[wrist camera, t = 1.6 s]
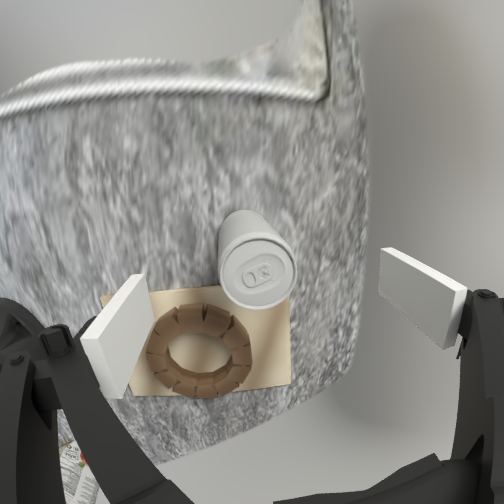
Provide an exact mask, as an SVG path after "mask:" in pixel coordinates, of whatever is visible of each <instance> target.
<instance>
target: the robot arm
mask: <svg viewBox="0 0 504 504" xmlns="http://www.w3.org/2000/svg"><path fill="white" fill-rule="evenodd" d="M378 293H379V294H380V295H381V296H383V298H385V299H386V300H387V301H388V302H389V303H391V304H392V305H393V306H394V307H395V308H396V309H398V310H399V311H400V312H401V313H402V314H403V315H404V316H406V317H407V318H408V319H409V320H410V321H411V322H413V323H414V324H415V325H416V326H417V327H418V328H419V329H420V330H421V331H422V332H424V333H425V334H426V335H427V336H428V337H429V338H430V339H431V340H432V341H433V342H435V343H436V344H437V345H438V346H439V347H440V348H441V349H442V350H443V349H446V348H449V347H451V346H454V345H455V342H456V338H457V334H458V333H459V334H460V335H461V336H462V337H463V338H462V342H461V345H460V348H459V352H458V355H457V358H456V359H459V356H461V363H460V389H459V402H458V403H459V404H458V413H457V422H456V429H455V436H454V443H453V449H452V454H451V458H450V460H443V461H439V460H438V457H437V456H436V455H435V453H433V454H431V455H429V456H427V457H425V458H422V459H420V460H418V461H416V462H413V463H411V464H409V465H407V466H404V467H402V468H400V469H399V470H397V471H396V472H395V473H393V474H392V475H390V476H388V477H387V478H385V479H384V480H382V481H381V482H379V483H378V484H376V485H374V486H373V487H371V488H369V489H367V490H364V491H356V492H343V493H325V494H315V495H310V496H305V497H299V498H294V499H289V500H282V501H275V502H273V504H504V298H498V296H497V295H496V294H495V293H494V292H492V291H490V290H487V289H479V290H475V291H474V292H472V291H470V290H468V288H466V287H465V286H463V285H461V284H459V283H457V282H455V281H454V280H452V279H450V278H449V277H447V276H445V275H443V274H441V273H440V272H437V271H436V270H434V269H432V268H430V267H428V266H427V265H425V264H423V263H421V262H419V261H417V260H415V259H413V258H411V257H409V256H407V255H406V254H404V253H402V252H399V251H398V250H396V249H394V248H392V247H391V248H382V249H381V254H380V275H379V287H378ZM154 320H155V318H154V314H153V310H152V306H151V301H150V297H149V292H148V287H147V283H146V278H145V274H136V275H131V276H130V277H129V279H128V280H127V281H126V282H125V283H124V284H123V286H122V287H121V288H120V289H119V290H118V292H117V293H116V294H115V295H114V296H113V298H112V299H111V300H110V301H109V302H108V304H107V305H106V306H105V307H104V309H103V310H102V311H101V312H100V313H99V315H98V316H94V317H93V318H91V319H90V320H88V321H87V322H86V323H85V324H84V326H83V327H82V328H81V329H80V331H79V333H77V334H76V336H75V337H74V338H72V336H71V333H70V330H69V327H68V326H67V325H63V324H58V325H53V326H50V327H48V328H44V327H43V326H42V324H41V323H40V322H39V321H38V320H37V319H36V317H35V316H34V315H33V314H32V313H30V312H29V311H28V310H27V309H26V308H24V307H23V306H22V305H20V304H19V303H17V302H15V301H13V300H10V299H7V298H0V504H66V500H65V494H64V488H63V482H62V474H61V466H60V457H59V445H58V426H57V409H63V411H64V414H65V416H66V419H67V421H68V424H69V426H70V428H71V431H72V433H73V435H74V438H75V440H76V442H77V444H78V446H79V448H80V450H81V452H82V454H83V456H84V458H85V460H86V462H87V464H88V466H89V468H90V470H91V472H92V474H93V475H94V477H95V479H96V481H97V482H98V484H99V486H100V488H101V489H102V491H103V493H104V494H105V496H106V497H107V499H108V501H109V502H110V504H194V503H193V502H192V501H191V500H190V499H189V498H188V497H187V496H186V495H185V494H184V493H183V492H182V491H181V490H180V489H179V488H178V487H177V486H176V485H175V484H174V483H173V482H172V481H171V480H167V479H166V478H165V477H164V476H163V475H162V474H161V473H160V471H159V470H158V469H157V468H156V467H155V466H154V464H153V463H152V462H151V461H150V460H149V458H148V457H147V456H146V455H145V453H144V452H143V451H142V450H141V448H140V447H139V446H138V445H137V443H136V442H135V441H134V439H133V438H132V437H131V435H130V434H129V433H128V431H127V430H126V429H125V427H124V426H123V424H122V423H121V421H120V420H119V419H118V417H117V416H116V414H115V413H114V411H113V410H112V408H111V407H110V405H109V404H108V402H107V401H106V399H105V398H114V399H122V398H123V395H124V393H125V390H126V387H127V385H128V382H129V380H130V377H131V375H132V372H133V370H134V367H135V365H136V362H137V360H138V358H139V355H140V353H141V350H142V348H143V346H144V343H145V341H146V339H147V336H148V334H149V332H150V329H151V327H152V325H153V322H154ZM99 387H100V389H101V391H102V393H103V394H102V393H101V391H100V389H99ZM103 395H104V396H103Z"/></svg>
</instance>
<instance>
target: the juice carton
mask: <svg viewBox="0 0 504 504" xmlns="http://www.w3.org/2000/svg"><path fill="white" fill-rule="evenodd" d="M59 457H60V466H61V474H62V482H63V488H64V494H65V500H66V504H95V502H96V498H97V494H98V490H99V487H100V486H99V484H98V482H97V481H96V479H95V477H94V475H93V474H92V472H91V470H90V468H89V466H88V464H87V462H86V460H85V458H84V456H83V454H82V452H81V450H80V448H79V446H78V444H77V442H76V440H75V441H72V442H69V443H67V444H64V445H62V446H60V447H59Z"/></svg>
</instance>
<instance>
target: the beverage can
mask: <svg viewBox="0 0 504 504" xmlns="http://www.w3.org/2000/svg"><path fill="white" fill-rule="evenodd" d="M217 269H218V279H219V282H220V285H221V288H222V289H223V291H224V292H225V294H226V295H227V297H228V298H229V299H230V300H231V301H232V302H234V303H235V304H236V305H238V306H240V307H242V308H245V309H250V310H265V309H268V308H272V307H274V306H276V305H278V304H279V303H281V302H282V301H283V300H284V299H286V298H287V297H288V296H289V294H290V293H291V291H292V289H293V288H294V286H295V282H296V279H297V265H296V260H295V256H294V254H293V252H292V250H291V248H290V247H289V245H288V244H287V243H286V242H285V241H284V240H283V239H282V238H281V237H280V236H279V234H278V233H277V232H276V231H275V230H274V229H273V228H272V227H271V226H270V225H269V224H268V223H267V222H266V221H265V219H264V218H263V217H261V216H260V215H259V214H258V213H256V212H254V211H250V210H239V211H236V212H233V213H232V214H230V215H229V216H228V217H227V218H226V219H225V220H224V222H223V223H222V225H221V227H220V230H219V240H218V264H217Z"/></svg>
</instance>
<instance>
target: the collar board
mask: <svg viewBox="0 0 504 504" xmlns="http://www.w3.org/2000/svg"><path fill="white" fill-rule="evenodd" d="M113 296H114V295H103V296H101V297H100V299H101V302H102V306H103V309H104V307H105V306H106V305H107V304H108V302H109V301H110V300H111V299H112V298H113ZM149 297H150V301H151V306H152V310H153V314H154V318H155V320H154V322H153V325H152V327H151V329H150V332H149V334H148V336H147V339H146V341H145V343H144V346H143V348H142V350H141V353H140V355H139V358H138V360H137V362H136V365H135V367H134V370H133V372H132V375H131V377H130V380H129V382H128V383H129V385H130V388H131V390H132V392H133V395H134V396H174V395H184V396H187V397H190V398H193V396H194V395H196V397H197V399H201V398H215V397H218V393H219V394H220V395H221V396H223V395H225V394H227V393H229V392H234V391H243V390H252V389H260V388H267V387H274V386H281V385H287V384H291V357H290V318H289V296H288V297H287V298H286V299H284V300H283V301H282V302H281V303H279V304H278V305H276V306H274V307H272V308H268V309H265V310H250V309H245V308H242V307H240V306H238V305H236V304H235V303H234V302H232V301H231V300H230V299H229V298H228V297H227V295H226V294H225V292H224V291H223V289H222V288H221V285H215V286H206V287H196V288H185V289H175V290H164V291H153V292H149Z"/></svg>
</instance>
